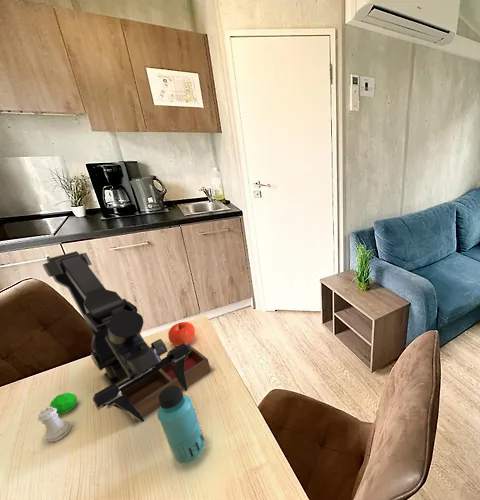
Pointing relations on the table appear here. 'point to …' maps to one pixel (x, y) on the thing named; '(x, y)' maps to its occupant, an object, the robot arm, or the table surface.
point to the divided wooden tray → (165, 383)
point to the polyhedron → (64, 402)
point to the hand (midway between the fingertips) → (165, 405)
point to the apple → (181, 333)
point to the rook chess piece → (53, 424)
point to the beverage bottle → (180, 425)
